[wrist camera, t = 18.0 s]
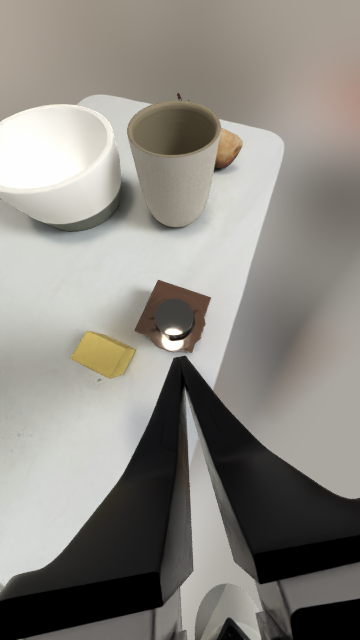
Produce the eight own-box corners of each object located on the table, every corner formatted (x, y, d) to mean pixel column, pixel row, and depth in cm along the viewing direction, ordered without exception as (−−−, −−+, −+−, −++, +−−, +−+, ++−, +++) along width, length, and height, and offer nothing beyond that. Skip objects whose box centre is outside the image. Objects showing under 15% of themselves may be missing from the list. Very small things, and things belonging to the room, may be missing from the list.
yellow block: (136, 349, 21) (125, 348, 17) (123, 374, 20) (109, 379, 16) (104, 334, 22) (87, 330, 18) (90, 357, 21) (69, 358, 17)
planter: (202, 188, 30) (213, 96, 19) (210, 232, 26) (229, 152, 16) (146, 193, 30) (127, 103, 19) (148, 238, 26) (126, 161, 16)
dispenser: (189, 358, 21) (193, 360, 14) (141, 339, 21) (124, 333, 15) (206, 308, 23) (216, 291, 16) (162, 293, 23) (155, 271, 17)
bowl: (99, 154, 33) (73, 89, 25) (152, 205, 29) (140, 146, 21) (13, 196, 30) (-49, 138, 22) (57, 262, 25) (-1, 219, 17)
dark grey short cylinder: (185, 343, 15) (185, 341, 13) (153, 331, 16) (148, 327, 13) (196, 312, 16) (198, 305, 14) (165, 301, 16) (163, 293, 14)
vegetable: (245, 124, 30) (264, 48, 21) (233, 183, 33) (245, 139, 23) (177, 125, 32) (166, 55, 23) (171, 180, 35) (159, 138, 25)
